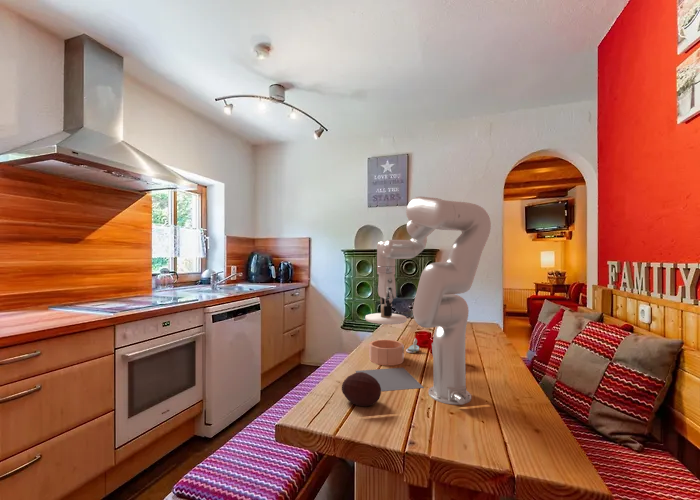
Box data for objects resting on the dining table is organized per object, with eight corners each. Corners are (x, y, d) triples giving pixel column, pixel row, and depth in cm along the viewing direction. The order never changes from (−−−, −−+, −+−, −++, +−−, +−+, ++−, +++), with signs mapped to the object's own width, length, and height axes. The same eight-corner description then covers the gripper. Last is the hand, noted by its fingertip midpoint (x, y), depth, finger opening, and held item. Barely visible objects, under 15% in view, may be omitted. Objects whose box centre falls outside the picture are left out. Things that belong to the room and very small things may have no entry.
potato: (377, 415, 84) (376, 381, 85) (336, 408, 89) (336, 375, 89) (384, 401, 93) (384, 370, 93) (347, 395, 97) (347, 365, 97)
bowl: (408, 365, 124) (408, 347, 124) (374, 367, 121) (374, 349, 122) (396, 354, 138) (396, 338, 138) (366, 356, 135) (366, 340, 135)
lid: (413, 323, 122) (413, 307, 122) (371, 325, 119) (371, 308, 119) (397, 315, 139) (397, 301, 139) (361, 316, 135) (361, 302, 135)
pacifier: (405, 353, 140) (419, 354, 139) (404, 339, 140) (418, 340, 139) (406, 349, 147) (419, 349, 146) (405, 336, 147) (418, 336, 146)
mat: (424, 389, 101) (423, 387, 101) (367, 394, 98) (367, 392, 98) (403, 369, 120) (403, 367, 120) (355, 372, 116) (355, 370, 116)
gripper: (401, 271, 122) (401, 318, 121) (388, 269, 138) (388, 310, 138) (383, 271, 120) (383, 319, 120) (372, 269, 137) (371, 311, 136)
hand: (386, 314), depth 129 cm, fingers closed on lid, 4 cm apart
